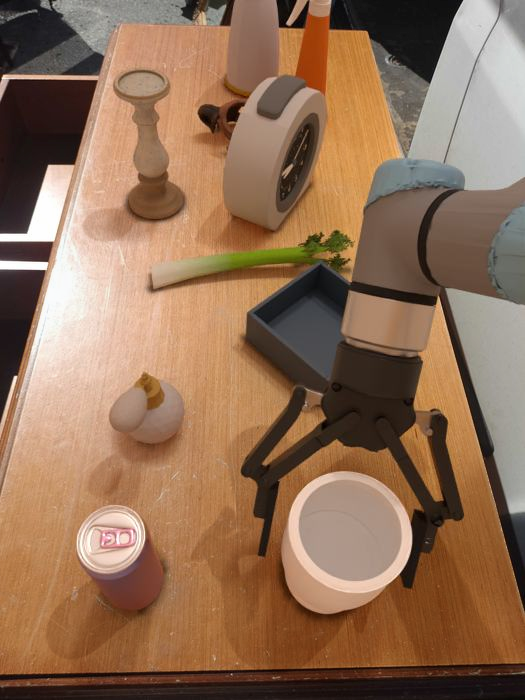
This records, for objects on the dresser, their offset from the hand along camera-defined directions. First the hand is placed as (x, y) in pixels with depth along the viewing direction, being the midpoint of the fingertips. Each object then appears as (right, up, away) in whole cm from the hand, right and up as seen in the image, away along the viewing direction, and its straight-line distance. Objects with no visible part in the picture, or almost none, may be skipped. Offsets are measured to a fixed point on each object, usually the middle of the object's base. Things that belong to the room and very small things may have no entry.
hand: (333, 564), depth 52 cm
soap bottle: (-9, +74, +61) cm, 97 cm away
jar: (0, -4, +7) cm, 8 cm away
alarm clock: (-5, +45, +41) cm, 61 cm away
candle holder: (-24, +44, +39) cm, 64 cm away
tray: (+1, +21, +24) cm, 32 cm away
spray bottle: (0, +64, +54) cm, 84 cm away
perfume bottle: (-20, +10, +15) cm, 27 cm away
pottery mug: (-13, +59, +50) cm, 78 cm away
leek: (-8, +32, +31) cm, 45 cm away
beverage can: (-20, -4, +5) cm, 21 cm away
